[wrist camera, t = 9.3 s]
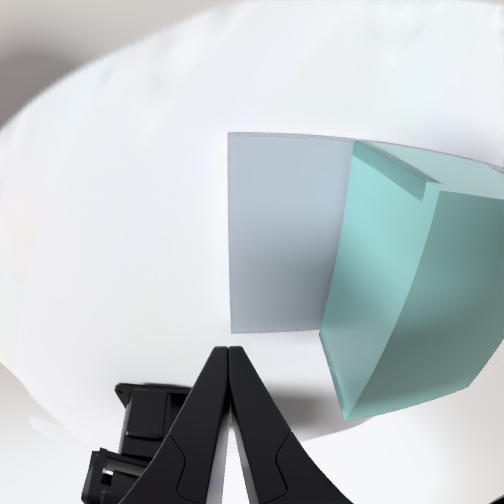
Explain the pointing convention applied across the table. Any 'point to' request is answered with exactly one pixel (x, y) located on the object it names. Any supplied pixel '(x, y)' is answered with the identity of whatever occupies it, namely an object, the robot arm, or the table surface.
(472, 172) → the block
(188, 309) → the table surface
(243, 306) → the grey flat rectangular block
